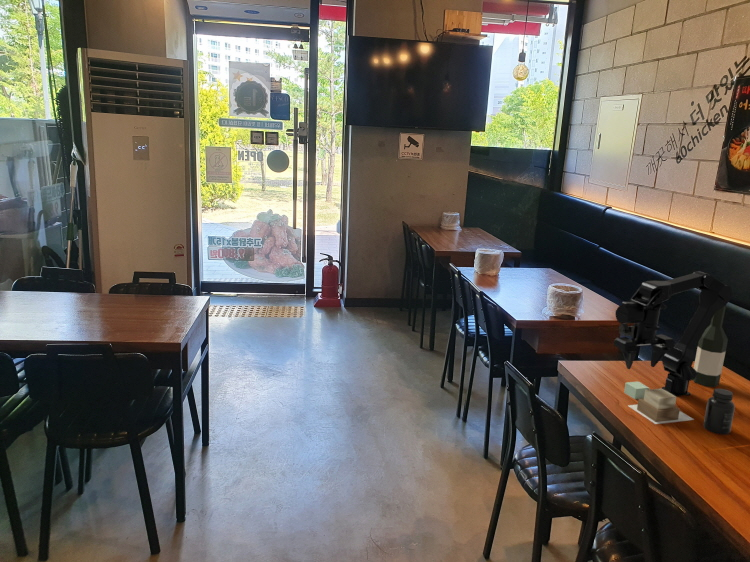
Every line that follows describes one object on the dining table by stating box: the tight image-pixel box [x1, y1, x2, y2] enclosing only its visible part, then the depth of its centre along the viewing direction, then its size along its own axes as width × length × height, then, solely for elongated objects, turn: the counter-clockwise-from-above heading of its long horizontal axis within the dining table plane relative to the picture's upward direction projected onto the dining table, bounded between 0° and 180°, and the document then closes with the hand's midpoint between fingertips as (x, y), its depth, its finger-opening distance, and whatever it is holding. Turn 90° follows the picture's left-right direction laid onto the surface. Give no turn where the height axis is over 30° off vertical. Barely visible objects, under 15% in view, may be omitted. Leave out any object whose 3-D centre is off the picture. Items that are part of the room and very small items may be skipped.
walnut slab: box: [636, 398, 681, 422], centre depth 170 cm, size 8×8×4 cm
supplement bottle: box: [703, 388, 736, 436], centre depth 161 cm, size 7×7×12 cm
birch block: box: [643, 387, 678, 409], centre depth 169 cm, size 6×6×4 cm
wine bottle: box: [692, 305, 729, 388], centre depth 193 cm, size 8×8×30 cm
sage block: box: [623, 381, 650, 400], centre depth 183 cm, size 5×5×4 cm
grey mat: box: [627, 403, 695, 425], centre depth 171 cm, size 14×12×1 cm
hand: (640, 367), depth 181 cm, fingers open, 9 cm apart
